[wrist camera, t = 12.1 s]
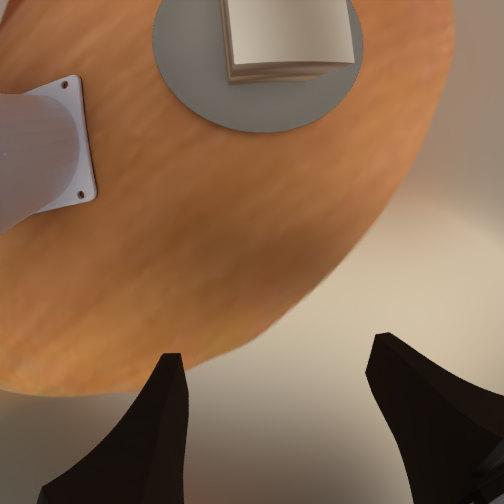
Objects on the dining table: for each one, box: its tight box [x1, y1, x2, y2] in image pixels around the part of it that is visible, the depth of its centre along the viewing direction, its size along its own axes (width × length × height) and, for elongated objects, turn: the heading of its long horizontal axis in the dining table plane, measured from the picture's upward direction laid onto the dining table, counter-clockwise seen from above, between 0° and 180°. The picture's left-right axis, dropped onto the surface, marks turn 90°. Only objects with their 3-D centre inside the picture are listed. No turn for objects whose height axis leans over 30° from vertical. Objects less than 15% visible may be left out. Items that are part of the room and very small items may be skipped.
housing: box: [219, 0, 355, 85], centre depth 10 cm, size 4×6×6 cm, turn 5°
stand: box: [153, 0, 363, 133], centre depth 14 cm, size 11×11×2 cm
